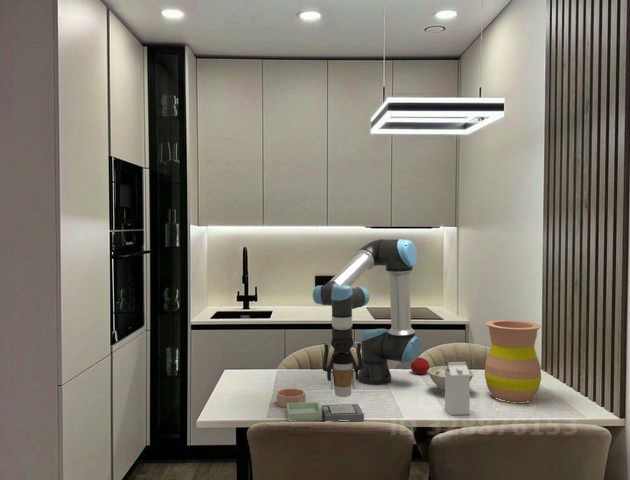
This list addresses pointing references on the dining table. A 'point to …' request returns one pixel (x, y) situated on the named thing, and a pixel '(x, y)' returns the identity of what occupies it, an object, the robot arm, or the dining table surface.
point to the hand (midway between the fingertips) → (342, 388)
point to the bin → (290, 397)
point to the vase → (513, 361)
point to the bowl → (441, 376)
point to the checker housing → (336, 417)
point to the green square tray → (304, 411)
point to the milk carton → (457, 388)
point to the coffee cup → (342, 374)
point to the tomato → (420, 366)
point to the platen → (342, 409)
